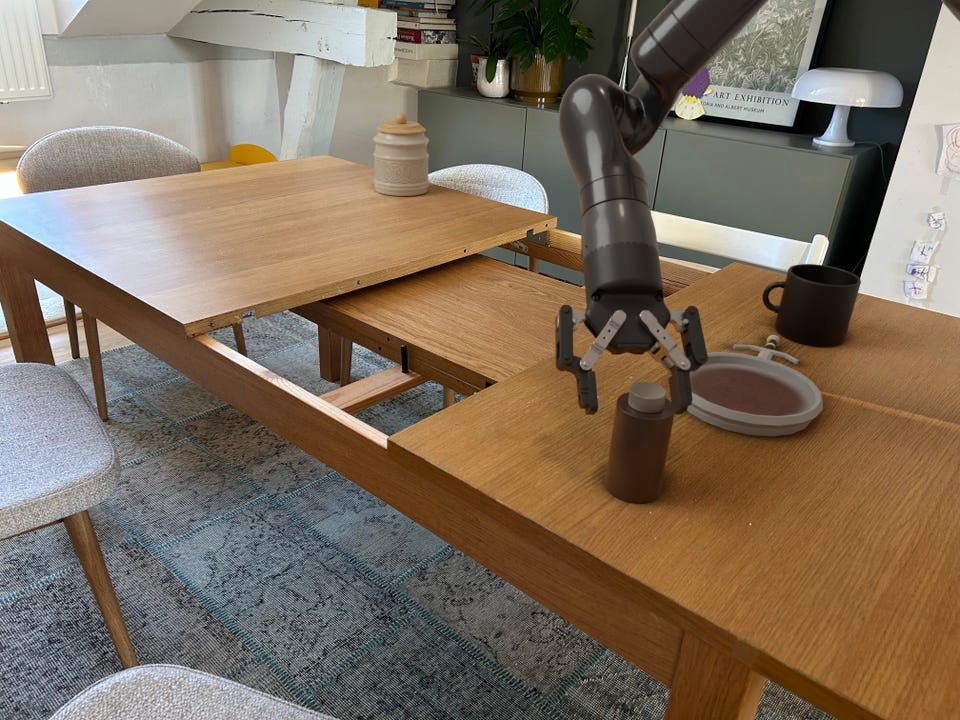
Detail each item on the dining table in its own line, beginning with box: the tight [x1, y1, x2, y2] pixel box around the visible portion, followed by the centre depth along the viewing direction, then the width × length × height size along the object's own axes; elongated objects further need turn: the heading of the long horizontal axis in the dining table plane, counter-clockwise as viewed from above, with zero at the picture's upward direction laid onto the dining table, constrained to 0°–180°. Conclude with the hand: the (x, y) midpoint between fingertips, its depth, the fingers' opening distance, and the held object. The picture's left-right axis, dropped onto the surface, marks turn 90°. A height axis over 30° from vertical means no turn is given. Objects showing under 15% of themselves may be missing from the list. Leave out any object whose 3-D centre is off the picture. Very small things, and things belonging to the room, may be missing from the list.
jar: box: [372, 112, 430, 197], centre depth 170 cm, size 13×13×18 cm
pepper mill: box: [604, 381, 676, 504], centre depth 68 cm, size 5×5×10 cm
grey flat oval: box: [670, 334, 824, 437], centre depth 90 cm, size 17×3×28 cm
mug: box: [762, 263, 862, 348], centre depth 104 cm, size 9×12×9 cm
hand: (636, 412), depth 68 cm, fingers open, 8 cm apart
